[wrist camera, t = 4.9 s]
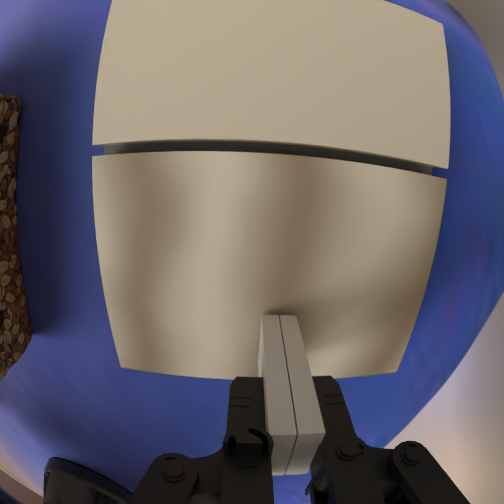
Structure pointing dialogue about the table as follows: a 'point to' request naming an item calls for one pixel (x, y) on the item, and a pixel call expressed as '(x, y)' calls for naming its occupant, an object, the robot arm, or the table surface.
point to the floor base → (275, 80)
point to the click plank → (261, 258)
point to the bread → (10, 244)
